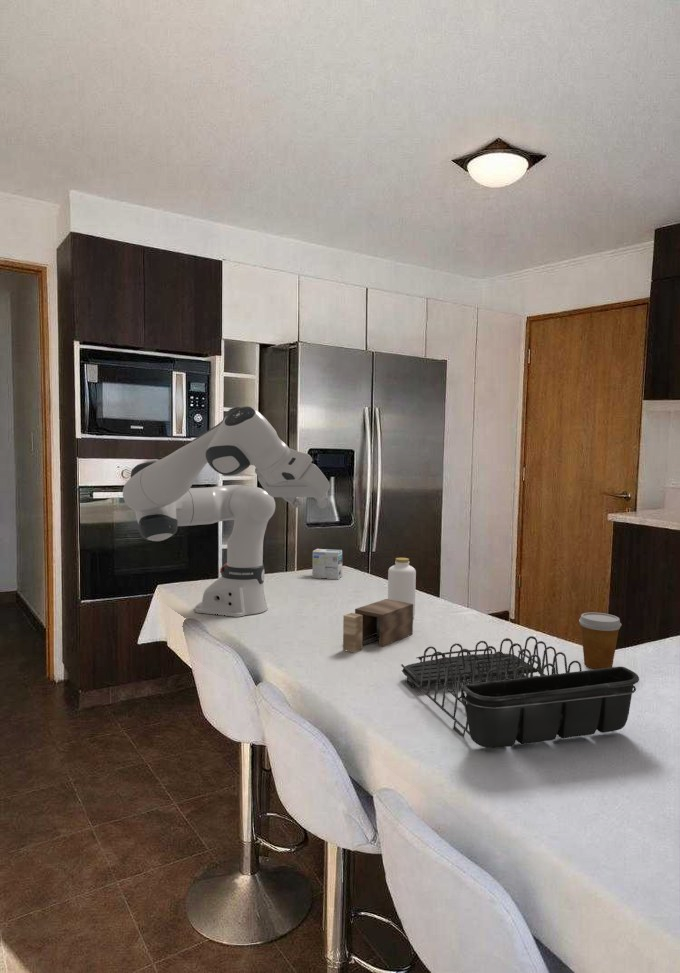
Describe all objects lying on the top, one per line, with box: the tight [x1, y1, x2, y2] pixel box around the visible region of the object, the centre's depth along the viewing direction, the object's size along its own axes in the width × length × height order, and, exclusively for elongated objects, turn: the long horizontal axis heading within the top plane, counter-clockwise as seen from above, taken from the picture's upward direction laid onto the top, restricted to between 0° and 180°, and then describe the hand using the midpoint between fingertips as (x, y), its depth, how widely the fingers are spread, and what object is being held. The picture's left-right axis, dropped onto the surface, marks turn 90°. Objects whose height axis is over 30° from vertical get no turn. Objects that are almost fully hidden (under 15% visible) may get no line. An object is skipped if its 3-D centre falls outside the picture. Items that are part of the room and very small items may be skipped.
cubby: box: [354, 598, 414, 648], centre depth 182 cm, size 15×9×8 cm, turn 142°
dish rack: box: [400, 635, 640, 749], centre depth 137 cm, size 34×44×12 cm
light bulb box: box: [311, 548, 343, 580], centre depth 261 cm, size 11×7×11 cm, turn 77°
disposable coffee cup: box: [578, 612, 622, 670], centre depth 161 cm, size 10×10×12 cm
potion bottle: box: [387, 557, 417, 618], centre depth 203 cm, size 8×8×18 cm
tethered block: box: [342, 612, 380, 653], centre depth 178 cm, size 21×5×9 cm, turn 142°
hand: (311, 505), depth 162 cm, fingers open, 8 cm apart
